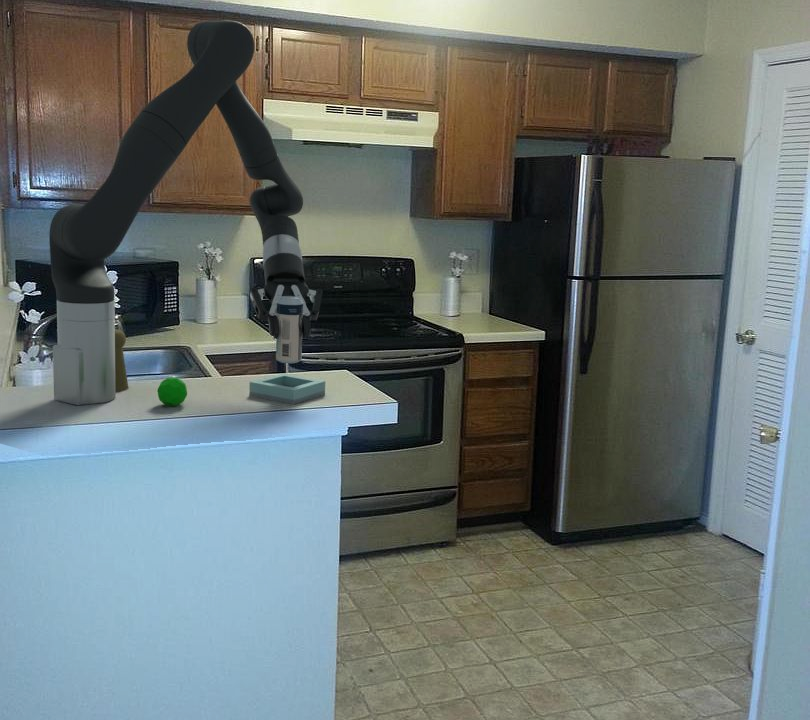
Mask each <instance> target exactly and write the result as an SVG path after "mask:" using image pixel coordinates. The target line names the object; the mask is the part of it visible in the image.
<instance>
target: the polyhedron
mask: <svg viewBox="0 0 810 720" xmlns="http://www.w3.org/2000/svg"><path fill="white" fill-rule="evenodd" d="M156 392H157V396H158V400H159V401H160V402H161V403H162V404H163V405H164V406H167V407H173V406H174V407H177V406H180V405H181V404H182V403H184V402H185V400H186V398H187V397H188V390H187V385H186V383H185V382H184V381H183V380H182V379H180V378H179V377H173V376H171V377H166V378H165V379H164V380H163V379H162V381H161V382H160V383H159V386H158V388H157V391H156Z"/></svg>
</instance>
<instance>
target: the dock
mask: <svg viewBox="0 0 810 720" xmlns="http://www.w3.org/2000/svg"><path fill="white" fill-rule="evenodd" d="M248 395H249V396H250V397H253V398H254V397H255V398H260V399H264V400H270V401H275V402H279V403H285V404H291V405H296V404H298V403H302V402H306V401H310V400H311V399H315V398H318V397H321V396H325V395H326V381H325V380H321V379H316V378H311V377H304V376H298V375H293V374H287V373H280V374H275V375H271V376H268V377H263V378H259V379H256V380H255V379H254V380H252V381H249V394H248Z"/></svg>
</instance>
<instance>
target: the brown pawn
mask: <svg viewBox="0 0 810 720" xmlns="http://www.w3.org/2000/svg"><path fill="white" fill-rule="evenodd" d="M126 339H127V338H126V333H124V331H123V330H121V329H117V328H115V393H116V392H117V393H118V392H124V391H127V390H128V389H129V381H128V376H127V375H128V374H127V369H126V362H125V356H124V349H123V348H124V346H125V344H126V341H127V340H126Z"/></svg>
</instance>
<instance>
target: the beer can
mask: <svg viewBox="0 0 810 720" xmlns="http://www.w3.org/2000/svg"><path fill="white" fill-rule="evenodd" d="M276 316H277V320H278V330H279V334H278V339H275V341H276V342H275V343H276V344H275V349H276V350H275V360H276V361H278V362H279V363H281V364H296V363H299V362H300V361H302V355H303V352H302V351H303V335H302V321H303V301H302V299H301V297H297V296H280V298H279V300H278V302H277V315H276Z"/></svg>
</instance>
